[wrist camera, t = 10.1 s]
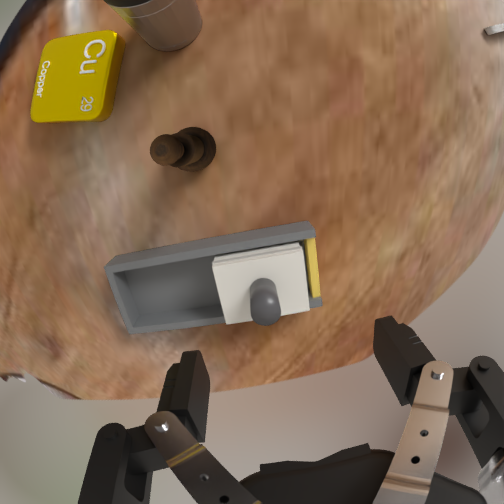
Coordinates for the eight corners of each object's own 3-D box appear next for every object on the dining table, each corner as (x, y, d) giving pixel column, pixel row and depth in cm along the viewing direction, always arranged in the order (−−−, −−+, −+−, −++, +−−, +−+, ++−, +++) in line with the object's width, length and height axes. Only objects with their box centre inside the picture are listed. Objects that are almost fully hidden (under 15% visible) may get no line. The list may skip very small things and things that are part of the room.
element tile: (56, 45, 35) (42, 39, 30) (128, 36, 36) (118, 27, 31) (42, 123, 40) (26, 123, 35) (112, 122, 41) (98, 120, 36)
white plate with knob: (215, 249, 46) (205, 286, 34) (295, 235, 46) (313, 268, 33) (228, 301, 49) (223, 350, 37) (302, 289, 49) (319, 334, 36)
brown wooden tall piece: (185, 178, 44) (148, 198, 27) (164, 142, 42) (117, 140, 25) (223, 157, 43) (210, 161, 26) (203, 119, 41) (176, 101, 24)
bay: (115, 255, 47) (103, 266, 43) (307, 220, 46) (314, 229, 42) (137, 319, 51) (129, 334, 47) (315, 291, 50) (322, 306, 46)
